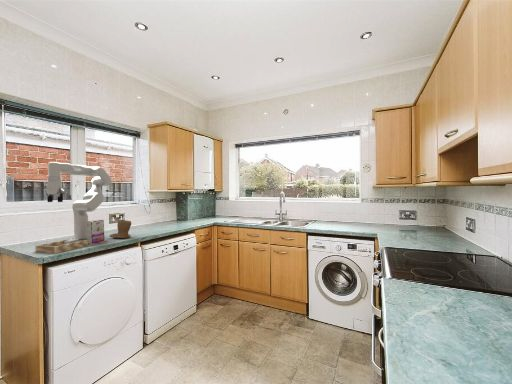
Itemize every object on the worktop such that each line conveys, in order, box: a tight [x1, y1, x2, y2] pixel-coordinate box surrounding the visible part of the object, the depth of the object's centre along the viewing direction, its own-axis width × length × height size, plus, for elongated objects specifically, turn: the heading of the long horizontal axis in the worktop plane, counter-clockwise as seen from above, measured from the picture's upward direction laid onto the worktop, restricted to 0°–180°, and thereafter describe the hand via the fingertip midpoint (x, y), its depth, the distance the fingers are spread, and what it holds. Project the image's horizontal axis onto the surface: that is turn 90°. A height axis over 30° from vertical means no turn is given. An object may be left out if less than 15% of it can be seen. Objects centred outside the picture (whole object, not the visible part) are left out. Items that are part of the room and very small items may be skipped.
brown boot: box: [108, 219, 132, 239], centre depth 203 cm, size 15×12×15 cm
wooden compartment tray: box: [34, 238, 89, 254], centre depth 166 cm, size 22×17×4 cm
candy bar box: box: [86, 219, 105, 244], centre depth 183 cm, size 11×5×16 cm, turn 167°
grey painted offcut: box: [65, 239, 80, 244], centre depth 171 cm, size 3×8×2 cm, turn 173°
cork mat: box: [88, 239, 108, 246], centre depth 182 cm, size 14×7×1 cm, turn 166°
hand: (55, 202), depth 180 cm, fingers open, 9 cm apart
